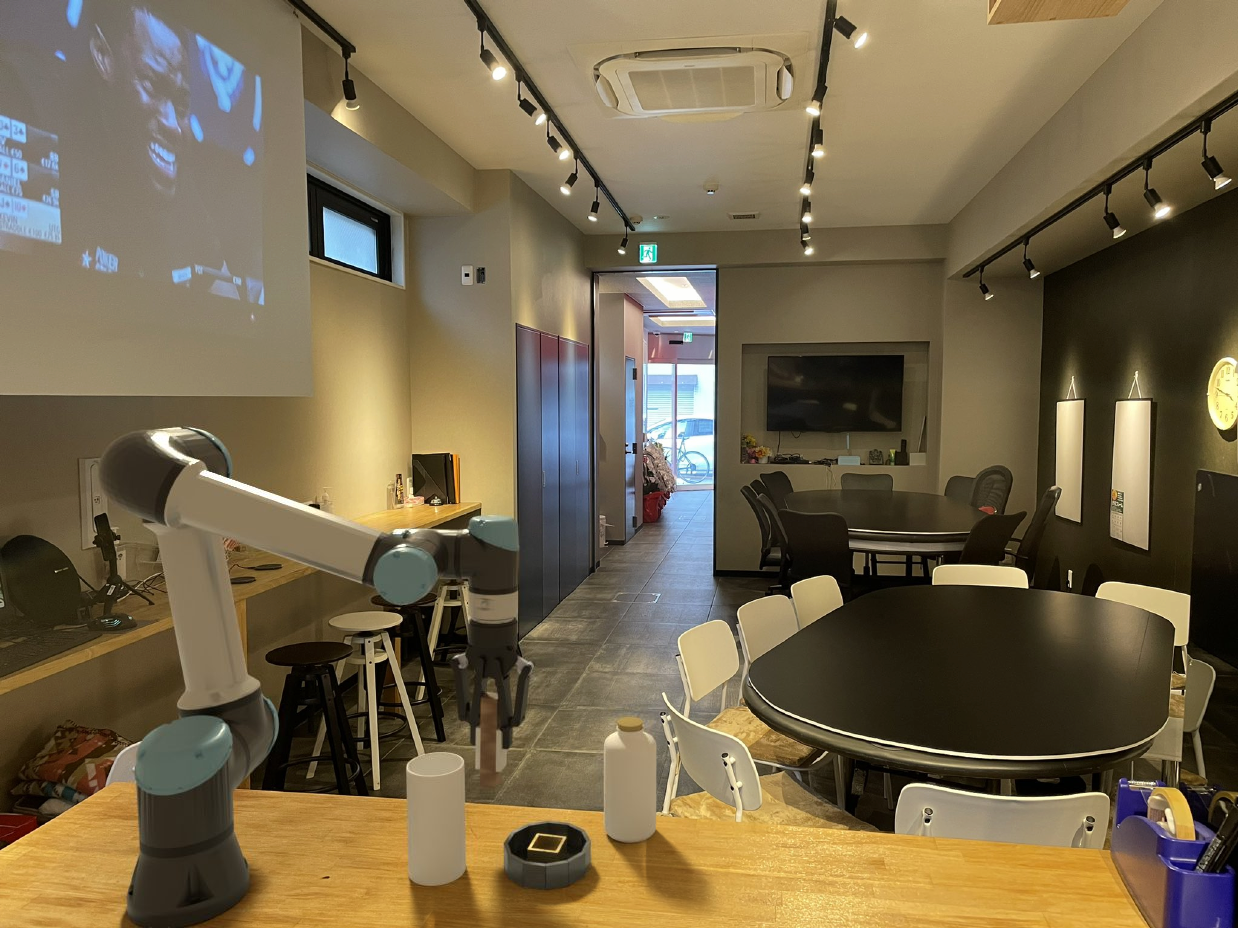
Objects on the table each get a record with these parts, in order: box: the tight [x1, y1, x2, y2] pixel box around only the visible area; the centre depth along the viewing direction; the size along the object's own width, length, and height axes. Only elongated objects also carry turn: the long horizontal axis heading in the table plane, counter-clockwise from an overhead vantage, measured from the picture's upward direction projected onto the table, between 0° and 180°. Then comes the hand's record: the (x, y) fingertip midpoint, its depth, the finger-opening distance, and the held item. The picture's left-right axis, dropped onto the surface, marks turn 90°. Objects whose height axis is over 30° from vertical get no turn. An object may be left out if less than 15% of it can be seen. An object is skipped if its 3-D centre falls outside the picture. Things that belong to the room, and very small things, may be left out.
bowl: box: [503, 820, 592, 891], centre depth 125 cm, size 12×12×4 cm
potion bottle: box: [603, 716, 657, 844], centre depth 134 cm, size 8×8×18 cm
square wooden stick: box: [479, 691, 503, 789], centre depth 131 cm, size 3×3×14 cm
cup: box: [405, 751, 467, 887], centre depth 123 cm, size 8×8×16 cm
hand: (491, 766), depth 131 cm, fingers closed on square wooden stick, 3 cm apart
